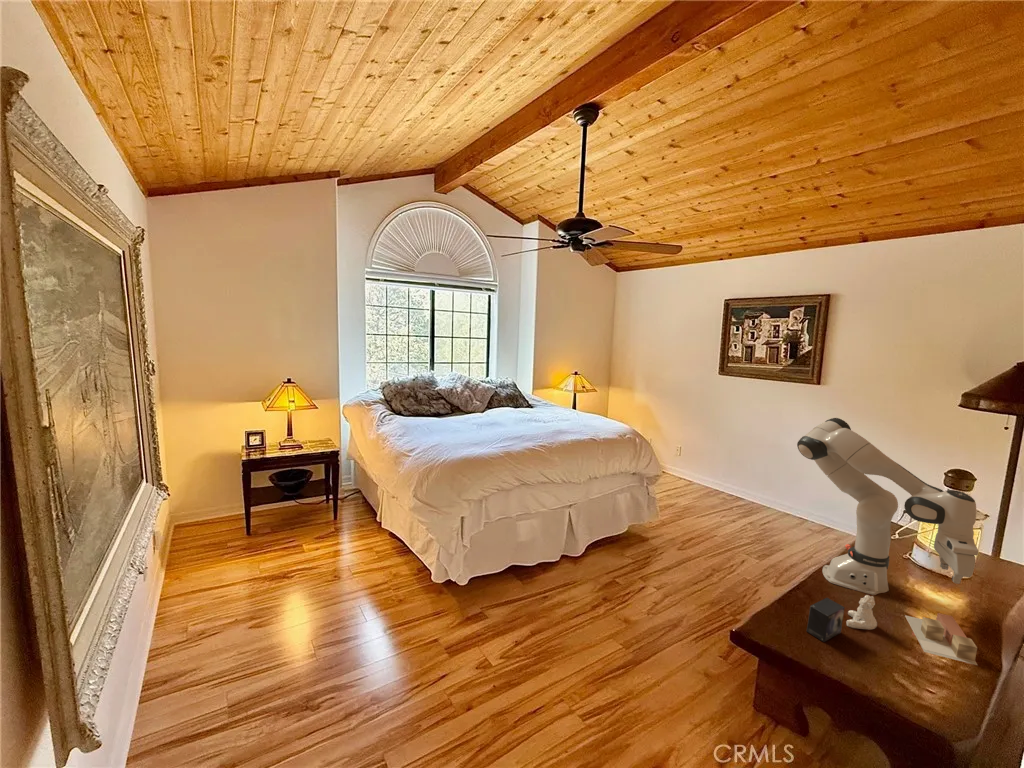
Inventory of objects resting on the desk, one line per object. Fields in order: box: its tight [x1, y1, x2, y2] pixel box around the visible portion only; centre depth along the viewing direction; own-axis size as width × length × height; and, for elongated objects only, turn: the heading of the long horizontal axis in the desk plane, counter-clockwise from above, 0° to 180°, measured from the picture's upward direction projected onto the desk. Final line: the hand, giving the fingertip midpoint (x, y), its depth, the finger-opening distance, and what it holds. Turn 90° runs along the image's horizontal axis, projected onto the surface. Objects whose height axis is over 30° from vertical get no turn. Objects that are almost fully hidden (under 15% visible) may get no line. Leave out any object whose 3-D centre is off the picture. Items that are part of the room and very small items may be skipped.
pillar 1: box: [921, 616, 944, 642], centre depth 161 cm, size 4×4×5 cm
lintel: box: [936, 612, 968, 645], centre depth 161 cm, size 4×12×4 cm, turn 154°
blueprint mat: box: [904, 614, 979, 666], centre depth 160 cm, size 14×20×1 cm, turn 154°
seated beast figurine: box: [845, 594, 878, 631], centre depth 166 cm, size 10×9×12 cm
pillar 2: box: [951, 635, 978, 661], centre depth 152 cm, size 4×4×5 cm
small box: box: [806, 597, 845, 643], centre depth 162 cm, size 11×6×10 cm, turn 117°
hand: (949, 575), depth 160 cm, fingers open, 8 cm apart
